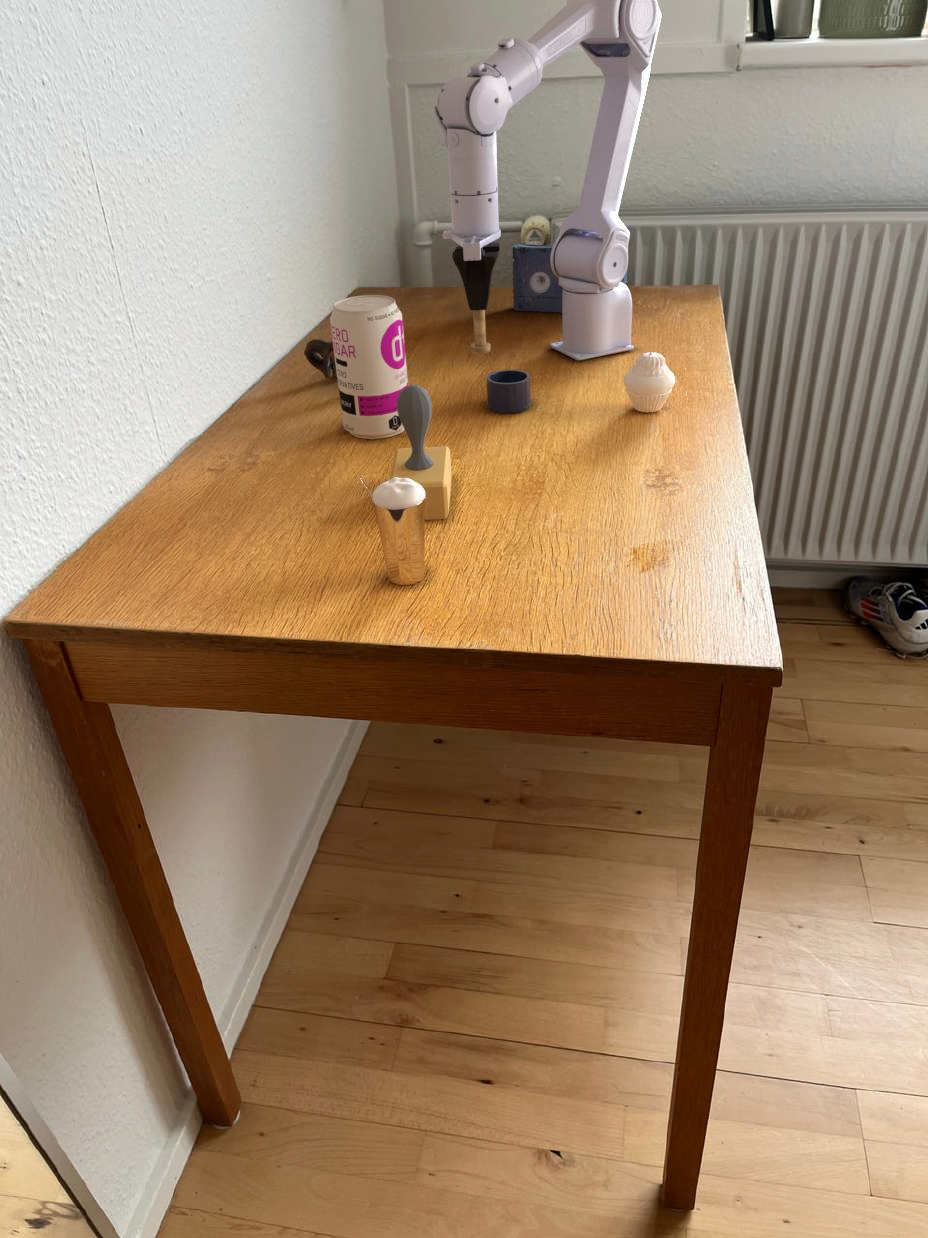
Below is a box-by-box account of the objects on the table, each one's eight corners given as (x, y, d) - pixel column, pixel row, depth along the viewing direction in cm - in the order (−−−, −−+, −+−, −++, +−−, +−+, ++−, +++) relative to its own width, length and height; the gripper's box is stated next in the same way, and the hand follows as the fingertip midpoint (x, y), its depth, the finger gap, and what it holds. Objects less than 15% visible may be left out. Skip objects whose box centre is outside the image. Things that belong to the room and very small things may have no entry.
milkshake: (371, 566, 87) (360, 465, 82) (430, 561, 87) (422, 460, 82) (372, 592, 83) (359, 488, 78) (433, 587, 84) (424, 482, 78)
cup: (518, 395, 123) (517, 366, 121) (538, 408, 119) (538, 378, 117) (480, 403, 121) (479, 374, 119) (499, 416, 117) (498, 386, 115)
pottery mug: (391, 369, 136) (398, 326, 129) (383, 419, 131) (391, 377, 124) (306, 353, 134) (310, 308, 127) (296, 403, 130) (299, 359, 123)
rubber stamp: (398, 479, 103) (388, 370, 97) (451, 477, 103) (444, 368, 96) (390, 521, 95) (378, 405, 88) (448, 518, 95) (440, 402, 88)
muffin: (679, 402, 118) (684, 346, 114) (664, 419, 114) (667, 362, 110) (632, 396, 121) (634, 341, 117) (614, 413, 116) (617, 356, 112)
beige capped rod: (485, 346, 126) (482, 284, 121) (494, 351, 124) (491, 288, 119) (467, 350, 125) (464, 287, 121) (476, 355, 123) (473, 291, 119)
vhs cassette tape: (626, 310, 154) (629, 245, 148) (622, 315, 151) (624, 250, 146) (518, 305, 160) (517, 242, 154) (512, 310, 157) (511, 246, 152)
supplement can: (422, 419, 118) (412, 295, 110) (390, 444, 111) (377, 314, 103) (365, 412, 121) (352, 291, 113) (331, 436, 115) (314, 310, 106)
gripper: (446, 183, 120) (452, 293, 128) (434, 203, 108) (442, 324, 116) (502, 180, 120) (505, 291, 127) (496, 201, 108) (500, 322, 115)
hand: (478, 307), depth 121 cm, fingers closed on beige capped rod
